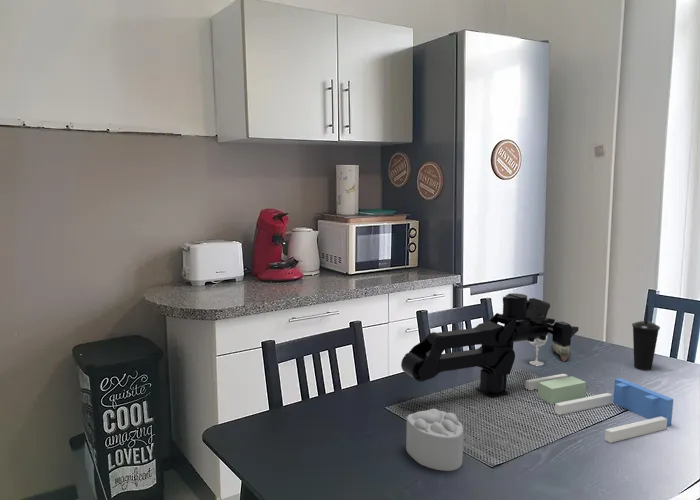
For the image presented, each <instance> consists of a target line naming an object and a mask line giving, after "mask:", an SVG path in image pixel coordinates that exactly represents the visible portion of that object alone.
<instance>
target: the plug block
mask: <svg viewBox="0 0 700 500" xmlns="http://www.w3.org/2000/svg"><path fill="white" fill-rule="evenodd" d="M586 392H587V381H584V380H582V379H579V378H577V377H575V376H573V375H572V376H568V377H565V378H560V379H554V380H549V381H544V382H539V383H538V389H537V398H538V397H539V398H538V399H540V398H541V399H540V400H542V399H543V400H542V401H544V400H545V401H546V403H547V402H548V404H549V403H550V404H549V405H551V404H552V405H555V403H559V402H564V401H570V400H575V399H580V398H585V397H587V396H586V394H587V393H586ZM545 401H544V402H545Z"/></svg>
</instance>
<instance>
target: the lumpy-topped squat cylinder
mask: <svg viewBox="0 0 700 500" xmlns="http://www.w3.org/2000/svg"><path fill="white" fill-rule="evenodd" d="M405 440H406V441H405V443H406V444H405V446H406V447H405V449H406V452H407V453H408V455H409V456H410V457H411V458H412V459H414V461H415V462H416V463H418V464H420V465H421V466H424V467H426V468H430V469H432V470H437V471H445V472H451V471H456V470H458V469H459V468H460V467H461V466H462V464H463V451H464V427H463V424H462V422H460V421H459V420H458V417H457V415H456V414H455V413H453V412H445V411H442V410H438V409H437V408H430V409H428V410H421V411H416V412H414V413H410V414H408V415H407V417H406V438H405Z"/></svg>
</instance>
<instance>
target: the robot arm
mask: <svg viewBox="0 0 700 500" xmlns="http://www.w3.org/2000/svg"><path fill="white" fill-rule="evenodd" d="M550 308H551V304H550V302H547V301H544V300H541V299H537V298H535V297H532V298H528V295H526V294H523V293H512V292H511V293H508V294H506V295H505V296H503V297H502V313H499V312H496V313H495V314H494V315H493V316H492V317H491V318H489V320H488V321H485V322H482V323H479V324H478V325H476V326H475V327H472V328H466V329H465V328H464V329H456V330H449V331H441V332H439V331H438V332H435V331H433V332H430V333H428V334H427V335H426V337H425V338H424V339H423V340H422V341H420V342H418V343H417V344H416V345H414V346H413V347H412V348H411V349H410V351H409V352H407V353H405V354H404V356H403V357H402V360H401V362H400V363H401V364H400V367H401V369H402V371H403V372H404V373H405V374H407V375H408V376H409V377H411V378H413V379H414V380H415V381H418V382H421V383H422V382H425V381H428V380H431V379H433V378H435V377H437V375H439V374H440V373H442V372H449V371H455V370H463V369H470V368H479V369H480V368H481V369H480V380H479V386H477V387H476V390H477V391H479V392H480V393H482V394H484V395H485V394H486V396H487V397H490V398H494V397H500V396H504V395H509V394H510V392H509V390H507V384H508V383H507V379H508V378H507V377H508V375H510V374H511V371H512V369H513V366H514V363H515V360H516V359H515V358H516V352H515V350H514V343H516V342H522V341H528V342H529V341H530V342H534V339H541V340H546V335H547V336H548V335H549V334H552V338H551V339H552V340H551V341H552V342H554V344H557V345H559V346H562V347H568V346H571V345H572V344H571V341H572V337H573V336H574V335H575V334H577V333H578V331H579V329H580V327H579V326H573V325H571V324H570V323H567V322H565V321H562V320H561V321H556V320H555V318H549V317H547V316H548V312H549V309H550ZM499 323H500V324H499ZM530 342H529V343H530ZM476 345H477V346H478V345H480V347H479V348H476V349H475V348H474V349H468V350H461V351H454V352H447V353H443V352H444V351H445V350H449V349H457V348H462V347H463V348H465V347H469V346H470V347H471V346H476Z"/></svg>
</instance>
